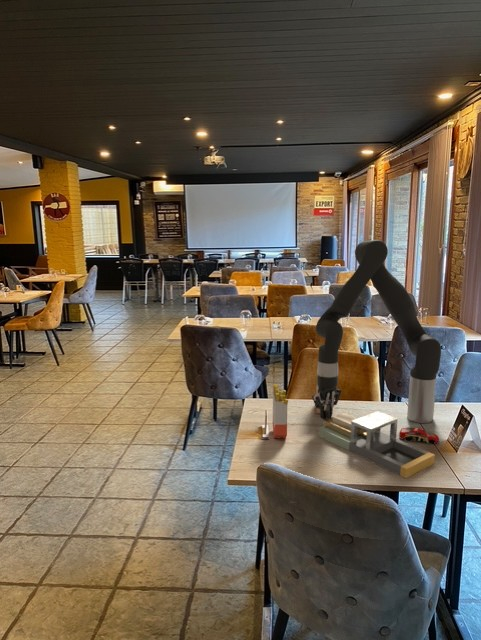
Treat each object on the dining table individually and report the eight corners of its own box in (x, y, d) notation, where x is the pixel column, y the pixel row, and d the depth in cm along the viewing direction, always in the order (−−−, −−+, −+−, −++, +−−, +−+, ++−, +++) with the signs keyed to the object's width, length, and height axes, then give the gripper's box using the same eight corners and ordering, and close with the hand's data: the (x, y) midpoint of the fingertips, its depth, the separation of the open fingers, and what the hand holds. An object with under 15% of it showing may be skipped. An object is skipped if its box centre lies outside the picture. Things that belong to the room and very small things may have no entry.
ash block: (343, 422, 176) (344, 412, 175) (365, 432, 168) (366, 421, 167) (332, 427, 172) (332, 416, 171) (354, 436, 164) (354, 426, 163)
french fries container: (284, 428, 178) (285, 382, 174) (287, 441, 167) (289, 392, 164) (272, 428, 178) (273, 382, 174) (274, 441, 167) (275, 392, 164)
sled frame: (333, 414, 182) (333, 399, 181) (382, 435, 165) (383, 419, 163) (314, 421, 176) (314, 405, 175) (363, 443, 159) (364, 426, 157)
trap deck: (346, 425, 181) (346, 417, 180) (434, 463, 152) (434, 454, 152) (318, 435, 172) (318, 428, 171) (405, 478, 144) (406, 469, 143)
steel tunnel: (376, 431, 169) (377, 411, 167) (396, 439, 162) (397, 418, 161) (350, 441, 160) (351, 420, 159) (369, 450, 154) (371, 429, 153)
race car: (438, 440, 170) (439, 429, 169) (439, 446, 165) (440, 435, 164) (399, 434, 174) (400, 423, 173) (398, 440, 169) (399, 429, 168)
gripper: (332, 367, 182) (331, 410, 185) (306, 374, 173) (305, 419, 177) (348, 372, 176) (346, 416, 179) (321, 379, 168) (320, 425, 171)
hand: (326, 417), depth 178 cm, fingers closed on sled frame, 2 cm apart
